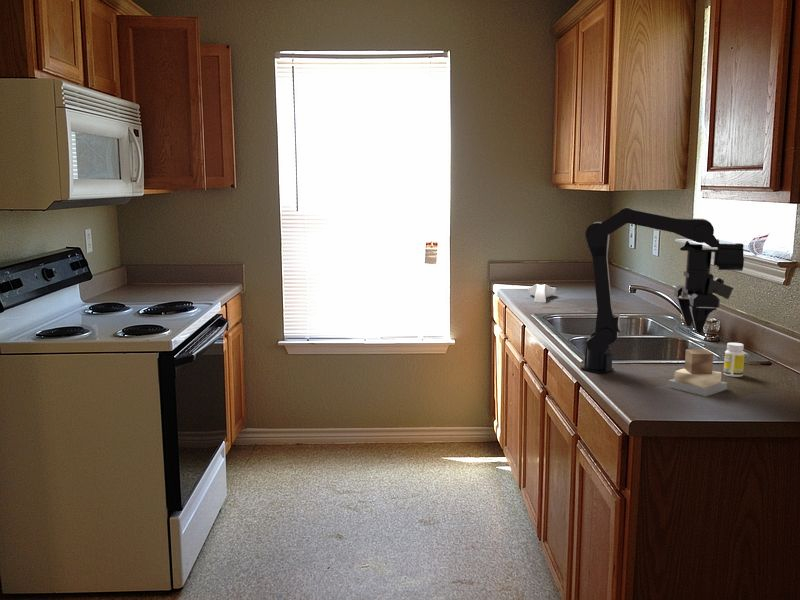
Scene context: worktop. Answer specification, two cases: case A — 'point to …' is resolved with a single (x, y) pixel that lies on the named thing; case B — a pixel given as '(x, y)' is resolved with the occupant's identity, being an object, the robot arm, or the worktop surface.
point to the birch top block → (697, 378)
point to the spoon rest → (541, 292)
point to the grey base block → (698, 388)
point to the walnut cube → (698, 361)
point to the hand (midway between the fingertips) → (693, 329)
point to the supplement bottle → (734, 360)
